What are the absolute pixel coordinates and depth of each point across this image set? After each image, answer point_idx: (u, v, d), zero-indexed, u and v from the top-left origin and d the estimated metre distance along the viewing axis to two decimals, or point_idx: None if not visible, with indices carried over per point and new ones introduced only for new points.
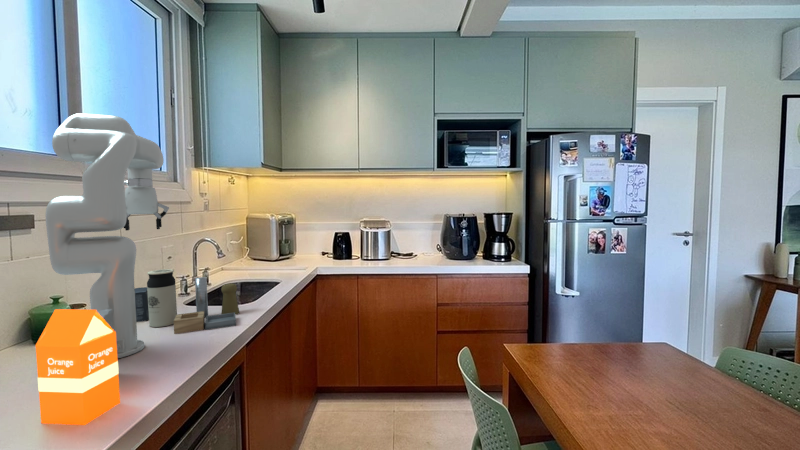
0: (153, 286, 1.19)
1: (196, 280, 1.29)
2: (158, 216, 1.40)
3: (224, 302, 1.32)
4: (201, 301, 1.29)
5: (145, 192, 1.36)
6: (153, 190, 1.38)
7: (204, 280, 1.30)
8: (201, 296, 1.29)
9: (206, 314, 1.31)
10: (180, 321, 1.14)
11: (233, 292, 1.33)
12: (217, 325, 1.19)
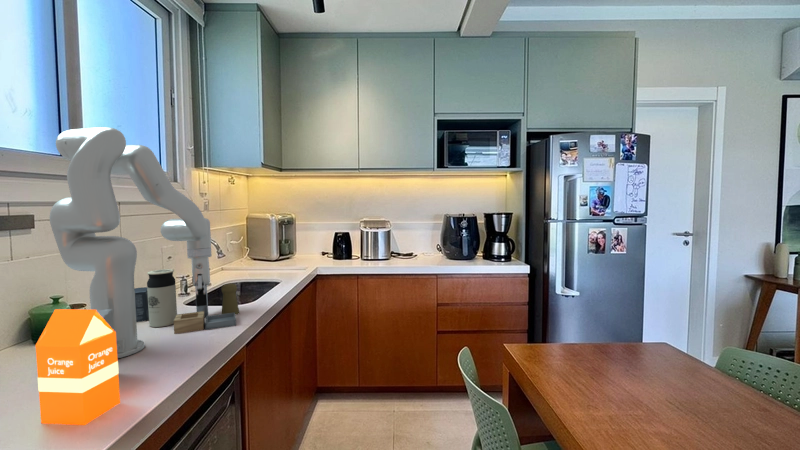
0: (153, 286, 1.19)
1: None
2: None
3: (224, 302, 1.32)
4: None
5: None
6: None
7: None
8: None
9: (206, 314, 1.31)
10: (180, 321, 1.14)
11: (233, 292, 1.33)
12: (217, 325, 1.19)
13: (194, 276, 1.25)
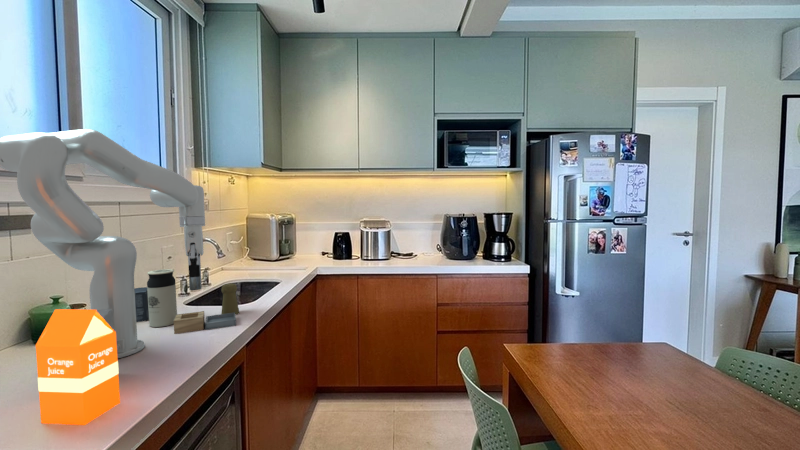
0: (153, 286, 1.19)
1: None
2: None
3: (224, 302, 1.32)
4: None
5: None
6: None
7: None
8: None
9: (199, 286, 1.25)
10: (180, 321, 1.14)
11: (233, 292, 1.33)
12: (217, 325, 1.19)
13: (187, 245, 1.19)
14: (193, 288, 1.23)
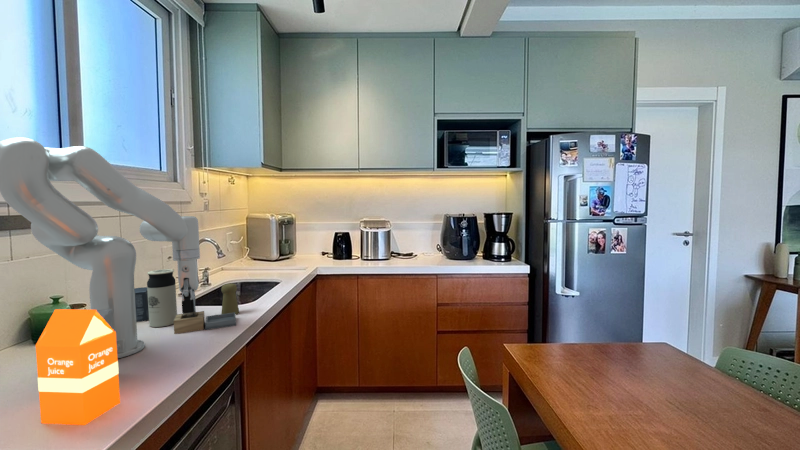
0: (153, 286, 1.19)
1: None
2: None
3: (224, 302, 1.32)
4: None
5: None
6: None
7: None
8: None
9: None
10: (180, 321, 1.14)
11: (233, 292, 1.33)
12: (217, 325, 1.19)
13: (180, 280, 1.13)
14: None
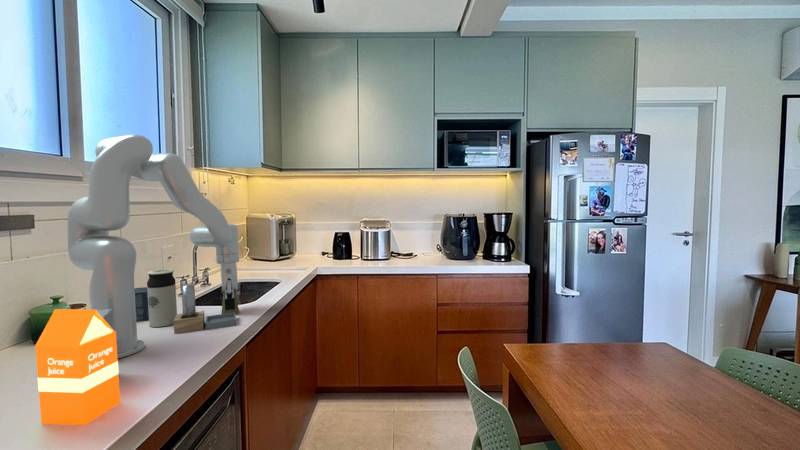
0: (153, 286, 1.19)
1: (183, 288, 1.17)
2: None
3: (224, 302, 1.32)
4: (188, 311, 1.17)
5: None
6: None
7: (192, 288, 1.18)
8: (188, 305, 1.17)
9: None
10: (180, 321, 1.14)
11: None
12: (217, 325, 1.19)
13: (224, 281, 1.29)
14: None
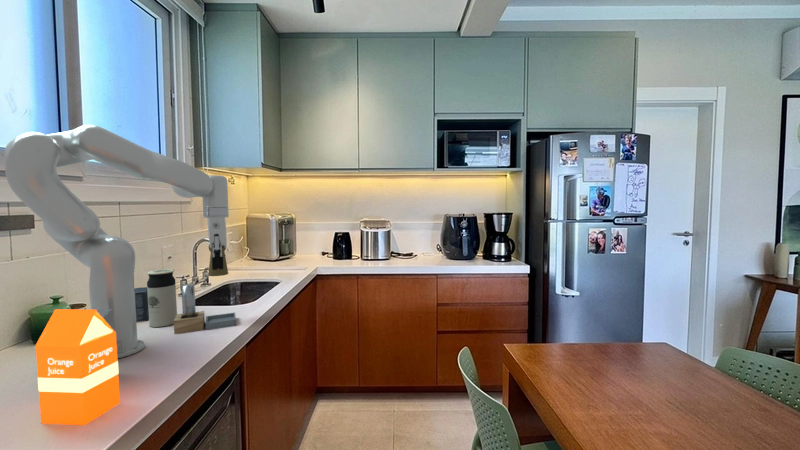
0: (153, 286, 1.19)
1: (183, 288, 1.17)
2: None
3: (211, 261, 1.20)
4: (188, 311, 1.17)
5: None
6: None
7: (191, 288, 1.18)
8: (188, 305, 1.17)
9: None
10: (180, 321, 1.14)
11: None
12: (217, 325, 1.19)
13: (211, 236, 1.17)
14: None
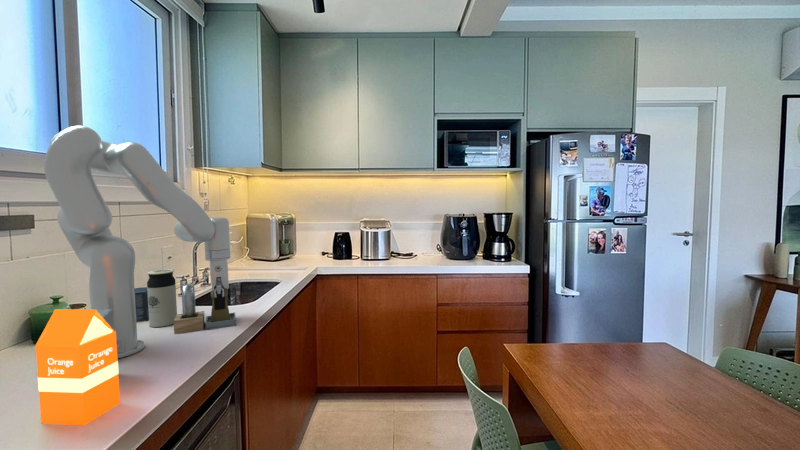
0: (153, 286, 1.19)
1: (182, 288, 1.17)
2: None
3: (213, 308, 1.21)
4: (188, 311, 1.17)
5: None
6: None
7: (191, 288, 1.18)
8: (188, 305, 1.17)
9: None
10: (180, 321, 1.14)
11: None
12: (217, 325, 1.19)
13: (213, 279, 1.17)
14: None
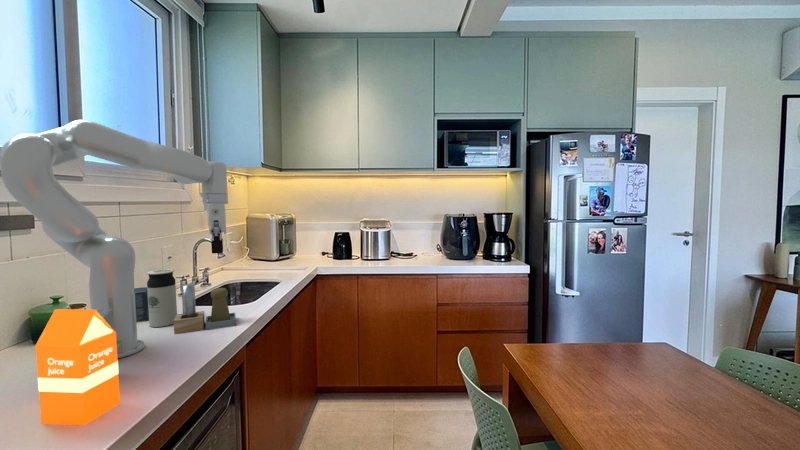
0: (153, 286, 1.19)
1: (183, 288, 1.17)
2: (221, 235, 1.27)
3: (213, 308, 1.21)
4: (188, 311, 1.17)
5: None
6: None
7: (192, 287, 1.18)
8: (188, 305, 1.17)
9: None
10: (180, 321, 1.14)
11: (223, 297, 1.22)
12: (217, 325, 1.19)
13: (210, 222, 1.16)
14: None
